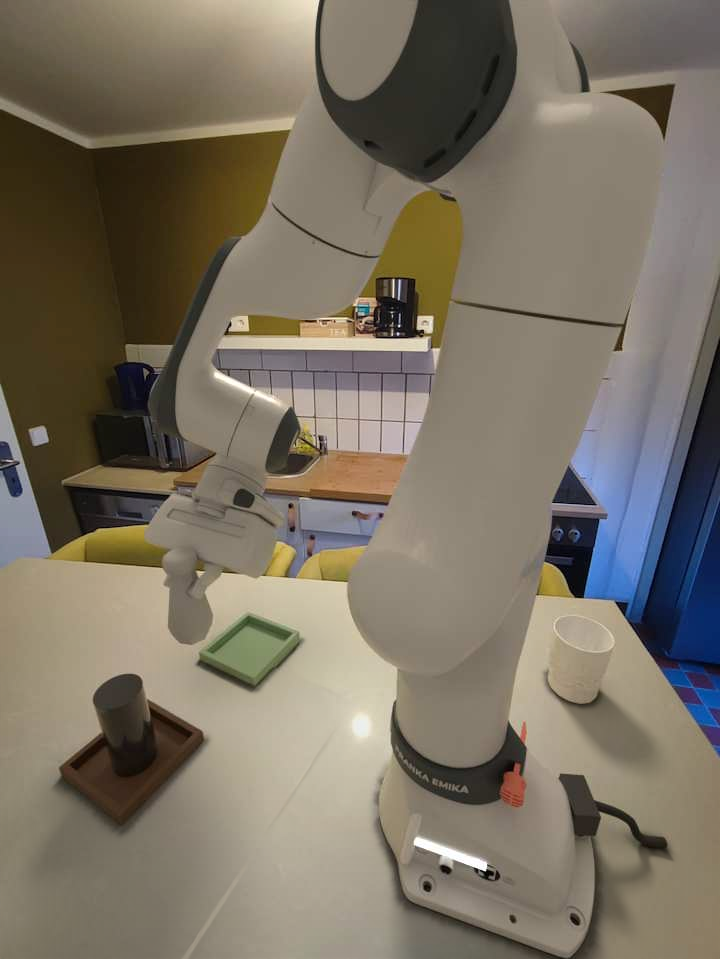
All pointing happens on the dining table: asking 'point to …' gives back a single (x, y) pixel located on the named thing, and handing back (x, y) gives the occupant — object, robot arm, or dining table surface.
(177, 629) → the salt shaker
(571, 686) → the white cup
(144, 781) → the dark tray
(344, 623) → the dining table surface
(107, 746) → the pepper shaker
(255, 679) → the light tray
